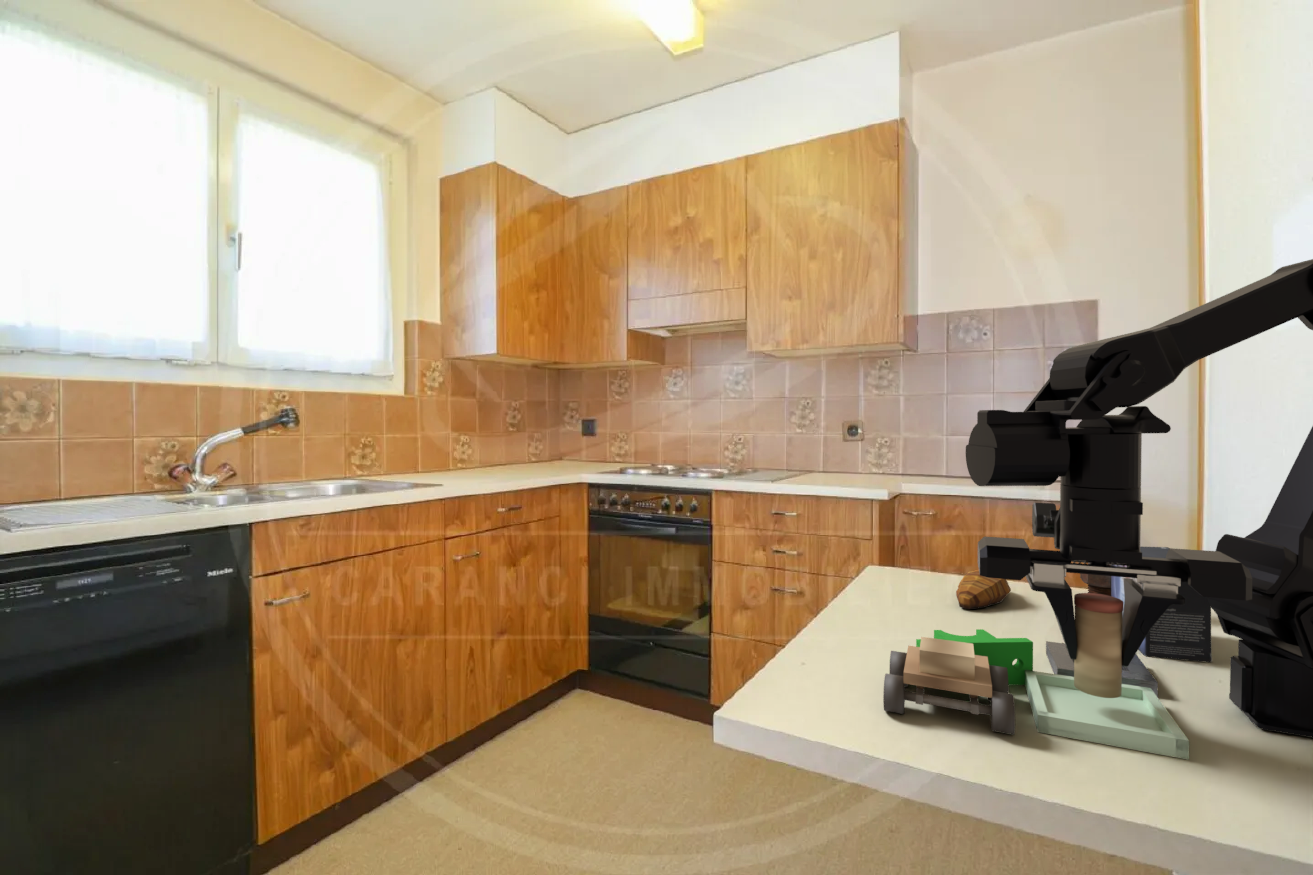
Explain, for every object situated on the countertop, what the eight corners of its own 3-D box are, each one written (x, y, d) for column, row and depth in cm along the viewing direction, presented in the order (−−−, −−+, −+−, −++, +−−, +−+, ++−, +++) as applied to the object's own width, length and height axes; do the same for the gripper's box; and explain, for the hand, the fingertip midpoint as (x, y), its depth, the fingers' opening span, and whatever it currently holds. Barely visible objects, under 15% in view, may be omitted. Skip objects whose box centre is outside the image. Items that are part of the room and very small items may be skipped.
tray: (1150, 703, 56) (1150, 688, 56) (1188, 759, 47) (1189, 740, 47) (1024, 684, 60) (1024, 669, 60) (1037, 731, 51) (1037, 714, 51)
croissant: (990, 618, 81) (991, 581, 80) (939, 606, 86) (939, 571, 86) (1026, 597, 89) (1026, 563, 89) (978, 588, 95) (978, 556, 94)
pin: (1116, 684, 55) (1117, 595, 54) (1127, 701, 51) (1128, 607, 51) (1069, 677, 56) (1070, 591, 56) (1077, 693, 53) (1078, 602, 52)
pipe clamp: (1011, 671, 64) (1011, 628, 64) (1032, 687, 60) (1033, 641, 60) (905, 671, 64) (905, 628, 64) (920, 687, 60) (921, 642, 60)
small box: (1106, 625, 77) (1107, 543, 77) (1168, 630, 75) (1169, 546, 74) (1141, 656, 67) (1142, 562, 67) (1214, 663, 65) (1216, 566, 65)
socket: (1134, 665, 65) (1134, 652, 65) (1157, 696, 57) (1157, 682, 57) (1045, 653, 68) (1046, 641, 68) (1057, 681, 61) (1057, 668, 61)
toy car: (1005, 695, 58) (1006, 634, 58) (1014, 741, 50) (1015, 671, 50) (892, 676, 63) (892, 620, 62) (883, 716, 54) (883, 651, 54)
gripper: (1202, 479, 56) (1200, 645, 57) (975, 474, 64) (975, 619, 65) (1257, 494, 46) (1253, 695, 47) (980, 485, 54) (979, 657, 55)
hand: (1097, 661), depth 54 cm, fingers closed on pin, 3 cm apart
